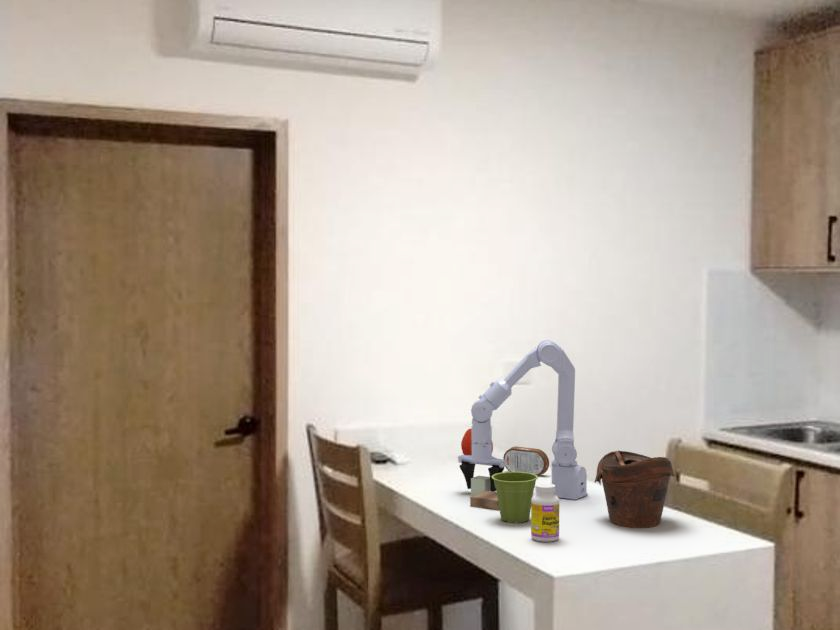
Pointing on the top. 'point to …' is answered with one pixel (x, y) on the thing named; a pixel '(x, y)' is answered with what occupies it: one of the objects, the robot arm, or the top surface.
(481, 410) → the robot arm
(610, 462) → the rusty brown bucket
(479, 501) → the brown square block
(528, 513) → the plant pot
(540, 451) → the tin
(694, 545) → the top surface
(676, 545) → the top surface
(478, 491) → the sage block
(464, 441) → the apple
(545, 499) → the supplement bottle
